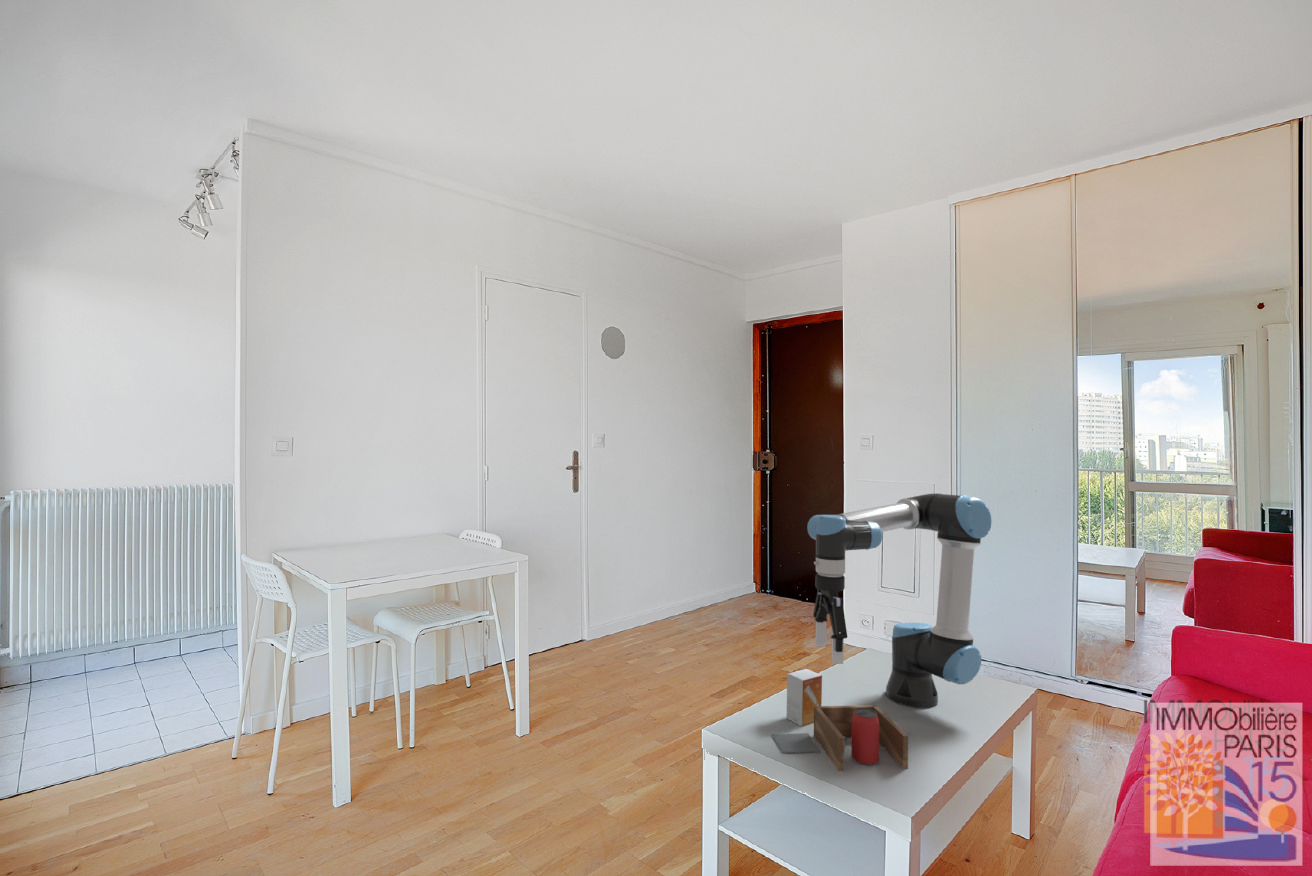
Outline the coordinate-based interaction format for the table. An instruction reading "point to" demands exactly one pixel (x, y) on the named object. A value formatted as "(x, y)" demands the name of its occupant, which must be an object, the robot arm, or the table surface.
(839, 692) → the table surface
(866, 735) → the beer can
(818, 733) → the open wooden enclosure
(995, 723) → the table surface
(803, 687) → the small box
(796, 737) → the place mat
